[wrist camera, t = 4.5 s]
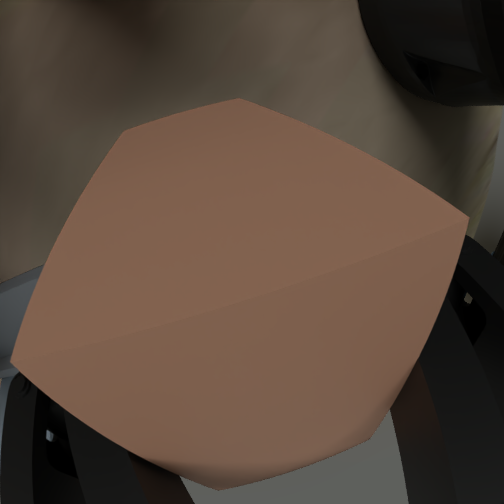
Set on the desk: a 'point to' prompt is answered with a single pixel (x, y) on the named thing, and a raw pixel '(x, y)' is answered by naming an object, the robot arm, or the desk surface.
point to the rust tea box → (238, 294)
